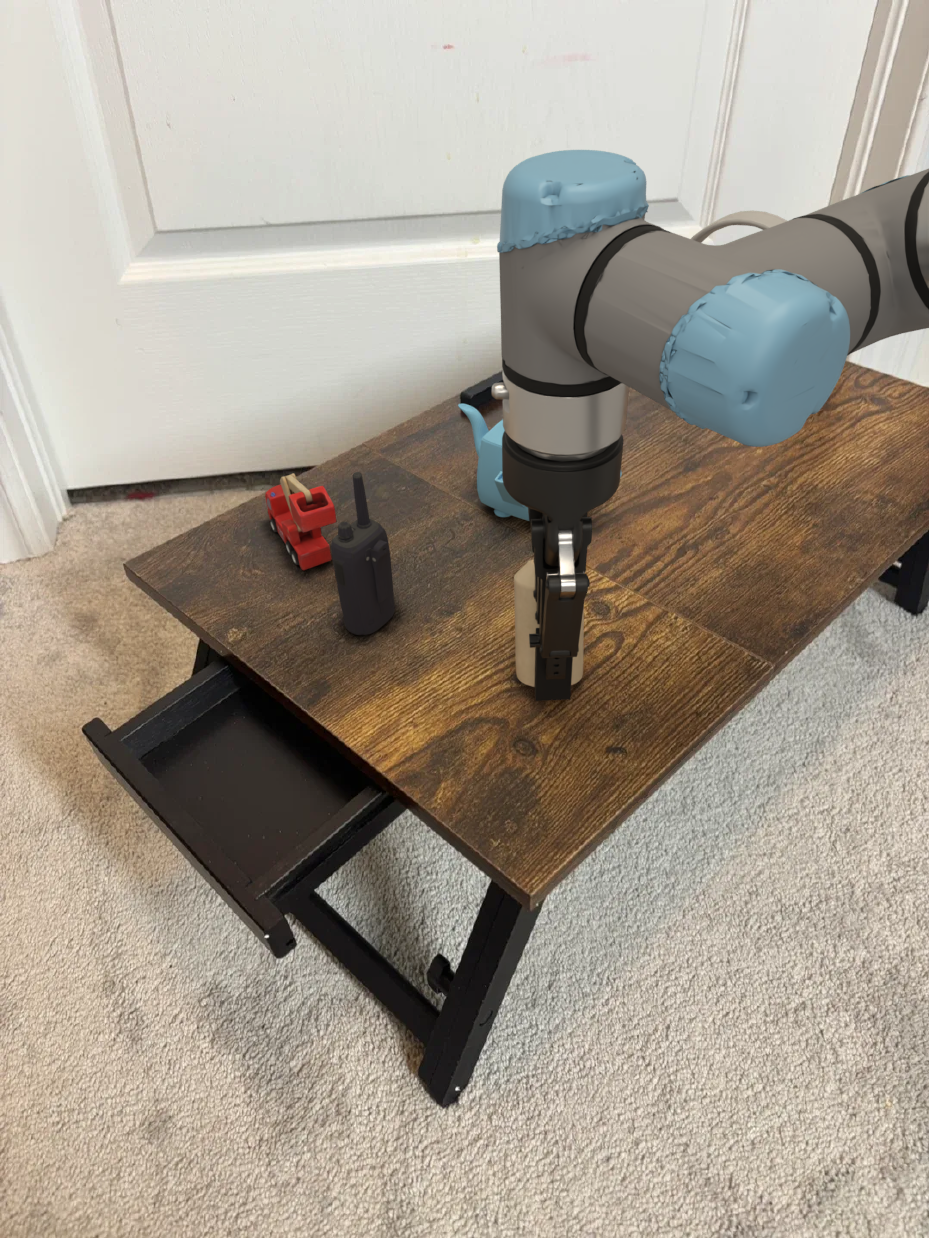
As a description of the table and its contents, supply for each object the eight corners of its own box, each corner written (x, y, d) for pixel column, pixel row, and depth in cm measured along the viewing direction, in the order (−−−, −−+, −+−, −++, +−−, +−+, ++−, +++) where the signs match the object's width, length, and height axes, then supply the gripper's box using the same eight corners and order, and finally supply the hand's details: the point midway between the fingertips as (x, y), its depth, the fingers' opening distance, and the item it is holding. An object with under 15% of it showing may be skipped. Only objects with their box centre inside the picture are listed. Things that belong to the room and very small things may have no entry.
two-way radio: (376, 596, 86) (357, 457, 76) (414, 614, 84) (399, 474, 74) (336, 630, 83) (310, 490, 72) (374, 650, 81) (353, 508, 70)
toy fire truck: (297, 511, 96) (281, 430, 90) (348, 585, 87) (334, 500, 81) (266, 521, 95) (248, 439, 89) (315, 597, 86) (298, 512, 80)
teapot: (642, 499, 95) (651, 412, 89) (578, 575, 87) (583, 485, 80) (492, 453, 103) (490, 369, 96) (420, 518, 94) (413, 432, 88)
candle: (561, 656, 80) (561, 544, 76) (596, 680, 75) (598, 562, 71) (504, 669, 78) (501, 555, 74) (536, 695, 73) (534, 574, 69)
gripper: (497, 383, 62) (500, 639, 78) (507, 492, 53) (508, 759, 68) (609, 378, 62) (590, 636, 78) (640, 487, 52) (610, 756, 68)
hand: (552, 693), depth 73 cm, fingers closed
